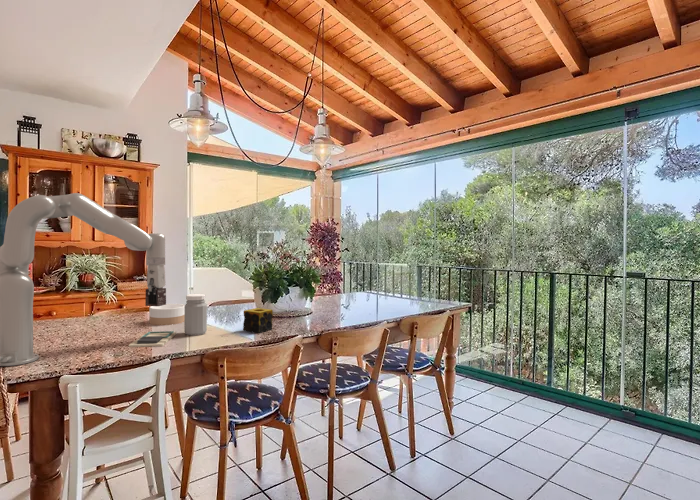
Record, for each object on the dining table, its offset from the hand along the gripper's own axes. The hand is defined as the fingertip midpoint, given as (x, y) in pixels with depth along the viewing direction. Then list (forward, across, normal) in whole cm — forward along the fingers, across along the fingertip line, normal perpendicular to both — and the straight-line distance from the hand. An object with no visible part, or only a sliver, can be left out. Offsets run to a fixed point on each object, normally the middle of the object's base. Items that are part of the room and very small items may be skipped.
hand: (155, 302), depth 181 cm
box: (+2, 0, 0) cm, 2 cm away
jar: (+16, +9, -15) cm, 24 cm away
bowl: (+17, +38, +6) cm, 42 cm away
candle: (+17, +14, -42) cm, 48 cm away
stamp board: (+16, -2, 0) cm, 16 cm away
